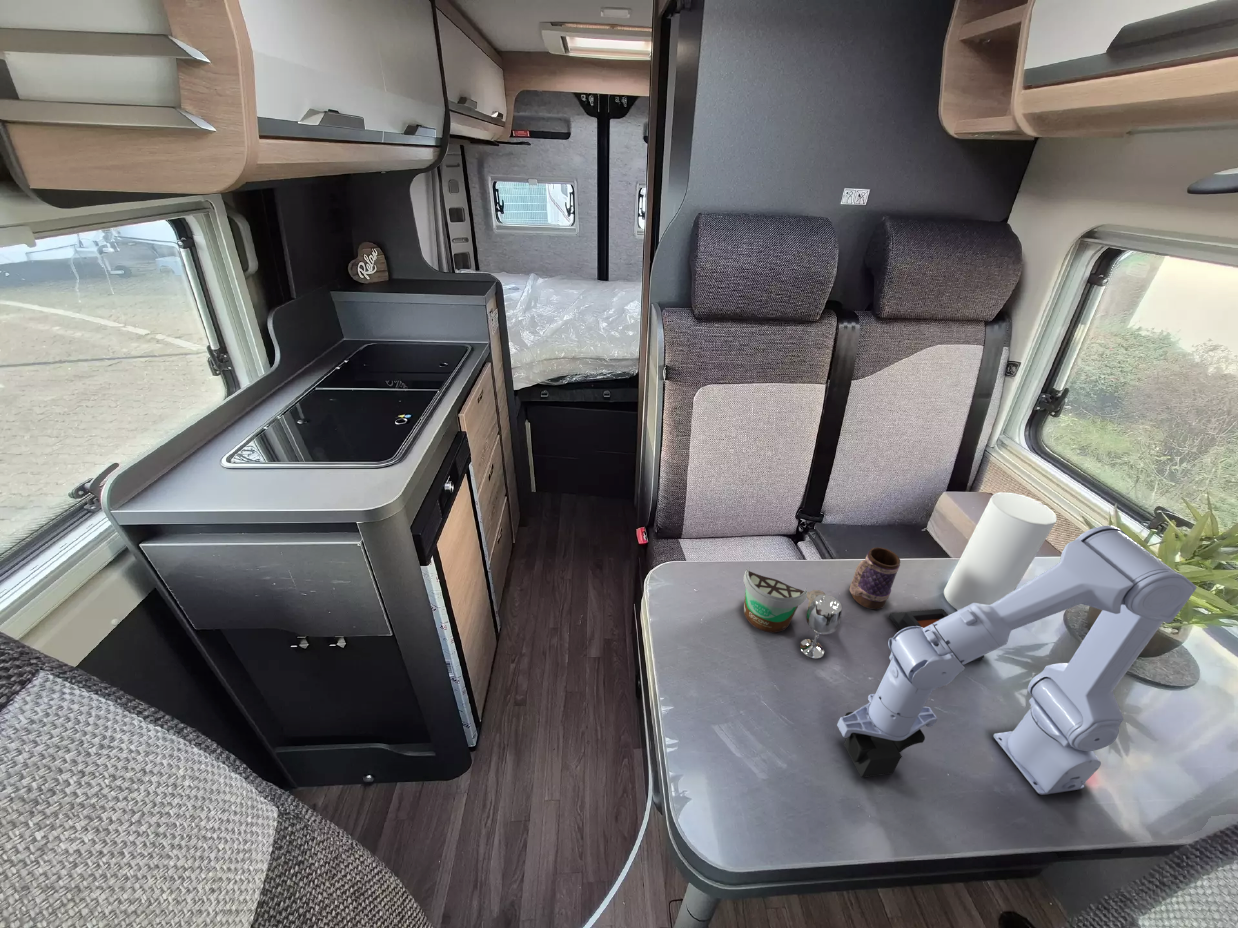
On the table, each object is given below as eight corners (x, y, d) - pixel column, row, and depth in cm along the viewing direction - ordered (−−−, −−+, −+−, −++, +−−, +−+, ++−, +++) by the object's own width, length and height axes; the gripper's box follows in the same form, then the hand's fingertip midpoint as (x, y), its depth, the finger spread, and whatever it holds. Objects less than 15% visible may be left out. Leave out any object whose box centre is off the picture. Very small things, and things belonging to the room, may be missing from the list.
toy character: (816, 611, 111) (816, 584, 110) (840, 627, 103) (840, 599, 103) (799, 614, 110) (799, 587, 109) (822, 630, 102) (822, 601, 102)
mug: (868, 582, 116) (885, 540, 110) (893, 605, 111) (912, 562, 105) (831, 593, 113) (847, 551, 107) (855, 617, 107) (873, 574, 101)
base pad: (982, 659, 100) (988, 649, 98) (926, 665, 98) (931, 655, 97) (940, 611, 110) (945, 602, 109) (888, 616, 108) (893, 606, 107)
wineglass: (807, 664, 97) (823, 618, 91) (790, 639, 102) (805, 594, 95) (833, 658, 98) (851, 613, 92) (816, 634, 103) (832, 589, 97)
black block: (892, 773, 80) (902, 756, 78) (861, 777, 80) (870, 760, 77) (873, 740, 85) (882, 723, 82) (843, 744, 84) (851, 727, 82)
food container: (728, 621, 105) (737, 584, 100) (737, 601, 109) (746, 565, 104) (790, 646, 100) (803, 609, 95) (797, 625, 105) (809, 588, 100)
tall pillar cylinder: (940, 578, 119) (985, 486, 106) (993, 592, 116) (1047, 499, 103) (948, 611, 110) (998, 515, 97) (1005, 626, 107) (1065, 530, 94)
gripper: (926, 670, 79) (897, 723, 86) (837, 679, 77) (815, 734, 84) (959, 713, 73) (924, 767, 80) (864, 724, 71) (837, 779, 78)
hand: (870, 753), depth 81 cm, fingers closed on black block, 5 cm apart
